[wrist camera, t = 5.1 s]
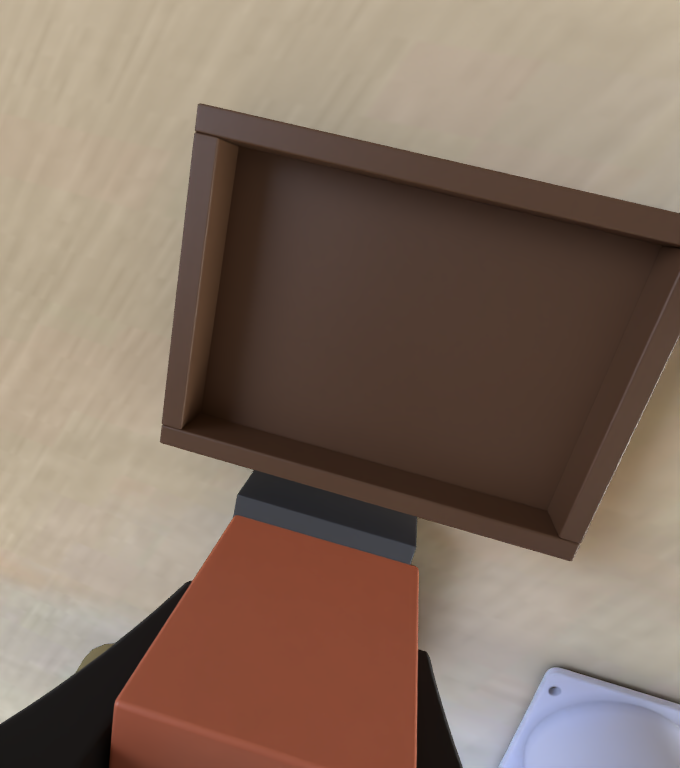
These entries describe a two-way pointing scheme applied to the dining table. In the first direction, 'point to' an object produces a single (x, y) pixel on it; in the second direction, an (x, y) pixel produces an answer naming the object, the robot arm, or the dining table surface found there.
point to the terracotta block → (279, 661)
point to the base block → (328, 516)
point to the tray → (415, 328)
